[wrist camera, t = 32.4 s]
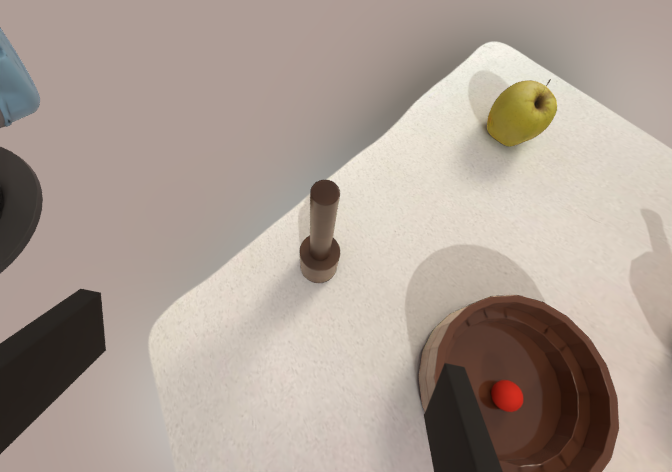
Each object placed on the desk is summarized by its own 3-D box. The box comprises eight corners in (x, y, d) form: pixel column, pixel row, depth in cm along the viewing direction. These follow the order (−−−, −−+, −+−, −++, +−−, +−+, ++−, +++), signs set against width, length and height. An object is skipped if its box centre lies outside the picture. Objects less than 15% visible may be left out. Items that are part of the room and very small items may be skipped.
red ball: (523, 421, 34) (492, 414, 37) (530, 398, 36) (500, 393, 39) (513, 398, 34) (483, 392, 36) (521, 375, 36) (492, 372, 38)
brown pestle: (293, 268, 42) (283, 195, 25) (315, 241, 44) (320, 156, 27) (321, 290, 41) (330, 230, 25) (343, 262, 43) (366, 188, 26)
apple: (472, 102, 53) (529, 51, 44) (513, 121, 55) (574, 76, 46) (473, 145, 50) (534, 99, 41) (516, 163, 52) (582, 123, 43)
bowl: (384, 374, 38) (397, 373, 33) (487, 277, 43) (513, 262, 38) (505, 525, 34) (543, 553, 28) (604, 397, 39) (653, 400, 33)
